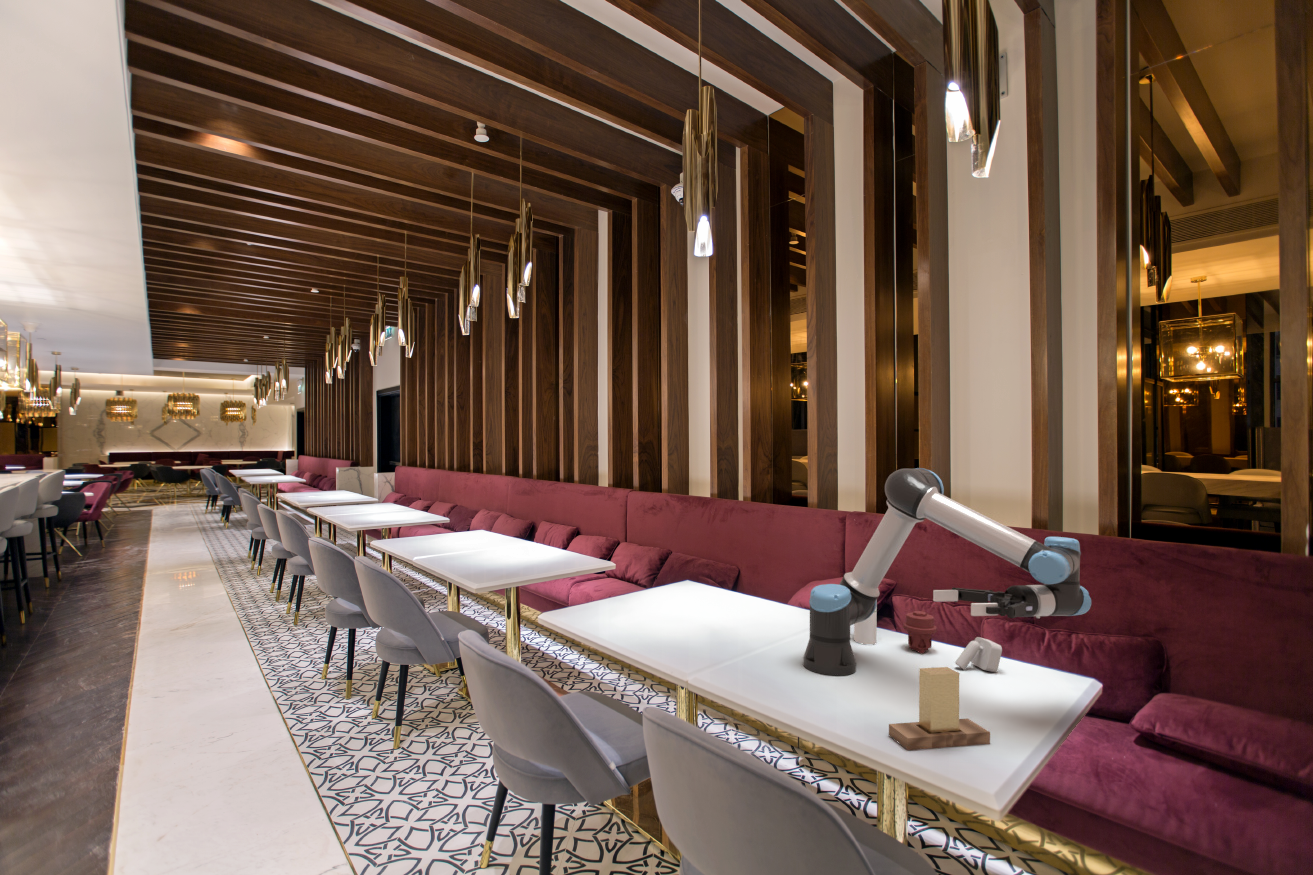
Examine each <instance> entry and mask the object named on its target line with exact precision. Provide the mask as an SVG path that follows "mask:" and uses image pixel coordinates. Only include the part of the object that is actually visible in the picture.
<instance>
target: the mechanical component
mask: <svg viewBox="0 0 1313 875" xmlns="http://www.w3.org/2000/svg"><path fill="white" fill-rule="evenodd" d="M905 617H906V618H905V622H903V624H902V625H903V629H904V630H905V631H907V634H908V635H907V637H908V638H907V639H908V640H907V644H908V646H909V648H908V649H910V650H913V651H916V652H918V653H919V654H922V655H923V654H924V653H925V652H926V651H929V649H931V648H932V646H933V645H932V638H933V637H932V635H934V634H936V633H937V630H938V629H937V628H938V627H937V626H936V625H935V618H934V616H933V615H931V614H928V613H927V612H925V611H922V610H920V611H919V610H914V611H913V612H907V613H906V614H905Z"/></svg>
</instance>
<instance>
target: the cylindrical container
mask: <svg viewBox="0 0 1313 875" xmlns="http://www.w3.org/2000/svg"><path fill="white" fill-rule="evenodd" d="M877 600H878V599H877ZM877 600H876V601H877ZM877 609H878V603H877V604H876V609H875V611H874V612H873V614H872V615H871V616H870V617H869V618H867V619H866V620H864V621H862V622H858V623H855V624H853V627H854V628H853V629H854V630H853V631H854V633H853V635H854V636H853V641H854V640H855V641H856V642H855V641H854V642H855V643H857V642H858V643H857V644H859V643H863V644H862V645H864V644H874V645H876V644H877V633H878V632H877V630H878V629H877V627H878V626H877V611H878V610H877ZM875 643H876V644H875Z"/></svg>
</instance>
